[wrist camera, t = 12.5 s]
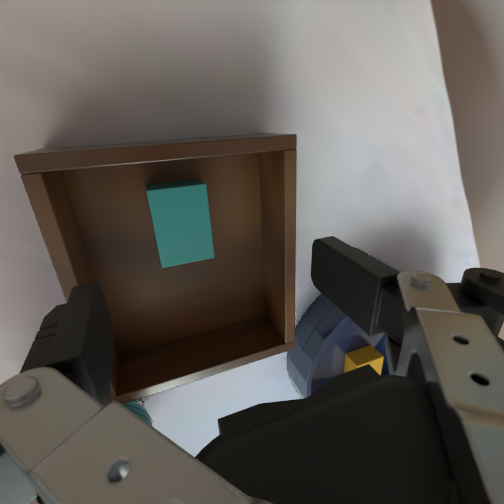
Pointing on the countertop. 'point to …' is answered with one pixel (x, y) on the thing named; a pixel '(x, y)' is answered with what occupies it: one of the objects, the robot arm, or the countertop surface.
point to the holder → (184, 275)
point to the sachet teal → (181, 221)
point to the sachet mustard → (364, 359)
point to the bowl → (326, 346)
